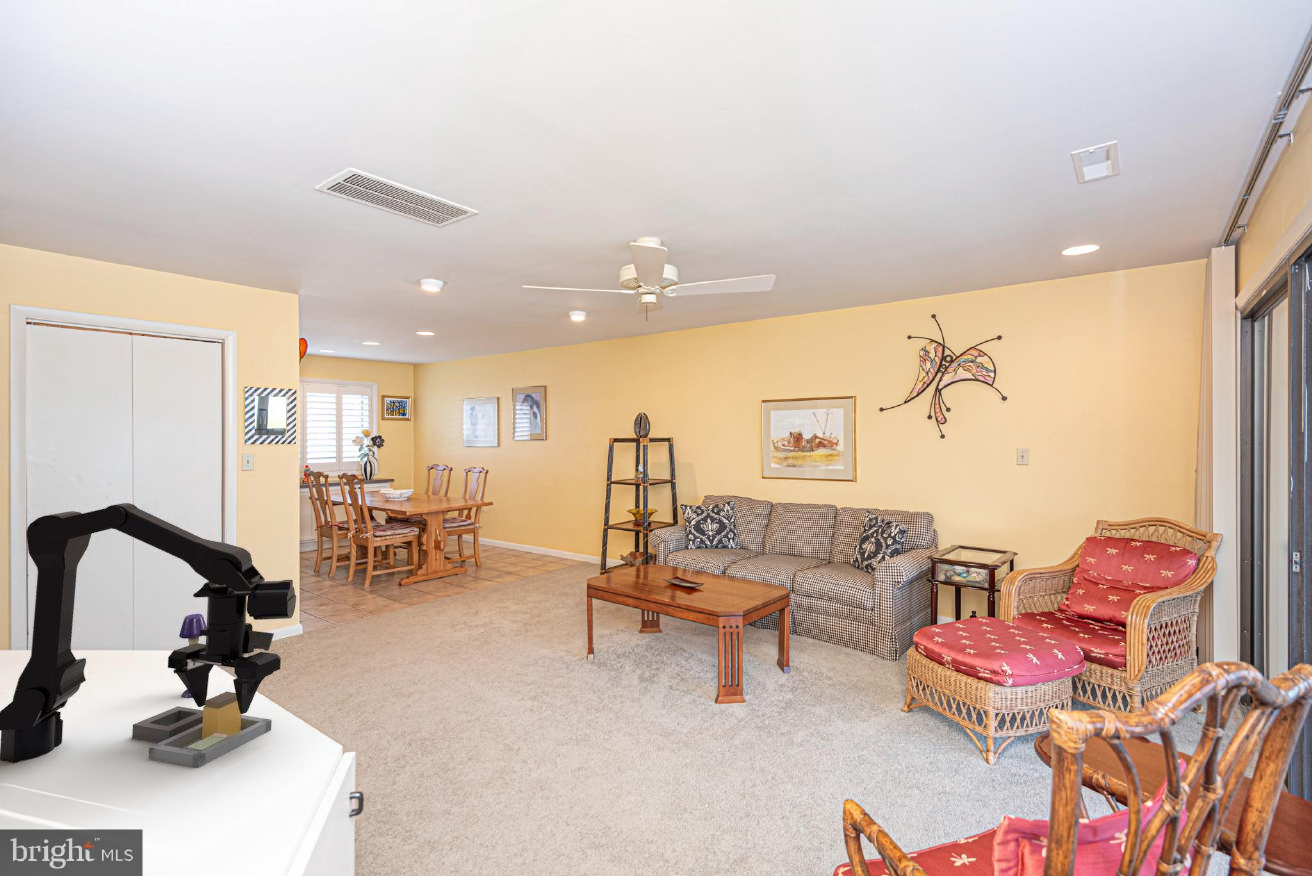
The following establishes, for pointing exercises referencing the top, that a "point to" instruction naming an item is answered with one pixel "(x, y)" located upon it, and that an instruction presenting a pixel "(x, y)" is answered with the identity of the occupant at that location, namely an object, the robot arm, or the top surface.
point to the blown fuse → (221, 715)
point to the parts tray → (175, 754)
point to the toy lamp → (191, 634)
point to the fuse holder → (167, 724)
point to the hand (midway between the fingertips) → (222, 709)
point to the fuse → (207, 742)
